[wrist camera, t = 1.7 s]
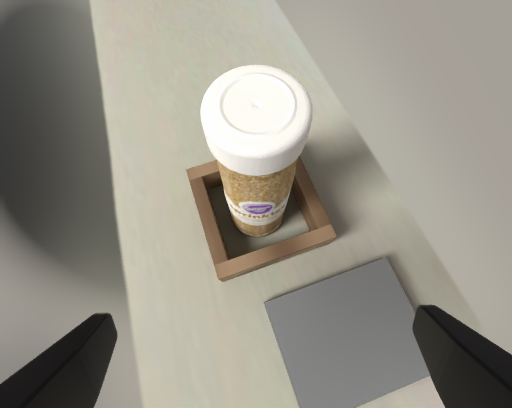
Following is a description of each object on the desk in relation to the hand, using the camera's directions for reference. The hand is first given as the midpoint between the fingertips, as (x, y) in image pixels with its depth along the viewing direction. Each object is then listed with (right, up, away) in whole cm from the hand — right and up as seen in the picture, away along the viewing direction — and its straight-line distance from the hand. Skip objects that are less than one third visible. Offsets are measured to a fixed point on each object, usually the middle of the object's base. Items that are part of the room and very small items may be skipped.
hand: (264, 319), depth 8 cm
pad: (+6, -6, +12) cm, 15 cm away
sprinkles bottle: (0, +3, +15) cm, 16 cm away
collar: (0, +3, +15) cm, 16 cm away
